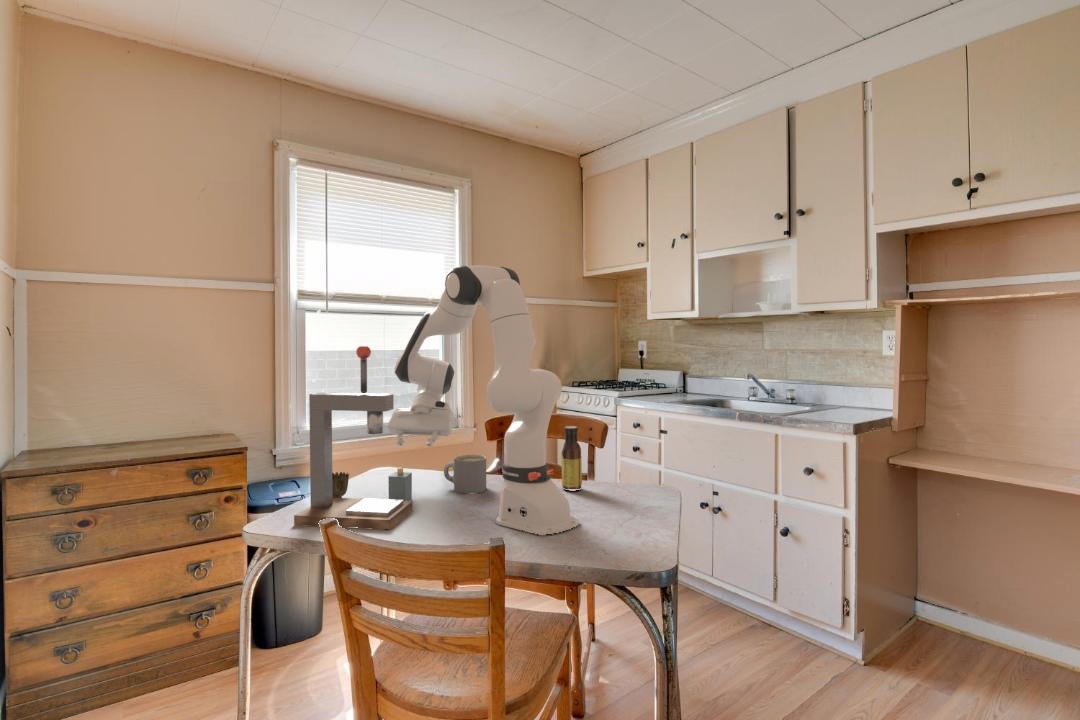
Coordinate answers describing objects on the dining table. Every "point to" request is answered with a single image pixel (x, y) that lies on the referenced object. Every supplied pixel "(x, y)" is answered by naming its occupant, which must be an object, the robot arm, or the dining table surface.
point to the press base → (361, 521)
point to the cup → (339, 484)
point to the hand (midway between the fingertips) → (414, 444)
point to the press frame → (322, 440)
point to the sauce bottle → (571, 460)
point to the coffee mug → (467, 473)
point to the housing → (400, 485)
